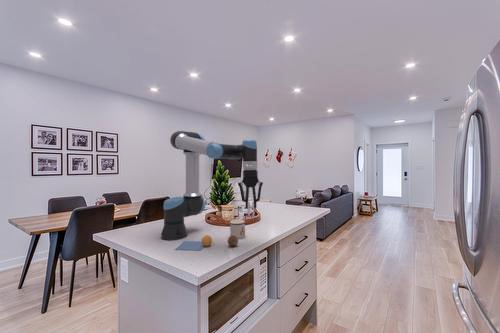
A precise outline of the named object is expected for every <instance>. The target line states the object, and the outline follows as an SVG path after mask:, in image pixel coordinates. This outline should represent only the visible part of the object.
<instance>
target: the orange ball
mask: <svg viewBox="0 0 500 333" xmlns="http://www.w3.org/2000/svg"><path fill="white" fill-rule="evenodd" d="M201 241H202V244H203V245H204V246H205V247H209V246H210V245H211V244H212V243H213V238H212V236H211V235H207V234H206V235H204V236H203V237H202V238H201Z"/></svg>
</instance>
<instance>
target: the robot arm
mask: <svg viewBox="0 0 500 333" xmlns="http://www.w3.org/2000/svg"><path fill="white" fill-rule="evenodd" d="M169 140H170V141H169V142H170V144H171V145H170V146H172V148H174V149H176V150H180V151H181V150H182V151H183V154H184V156H185V192H184V194H183V196H176V197H170V198H167V199H166V200H164V202H163V206H162V207H163V227H162V230H161V233H160V234H161V235H160V236H161V237H160V238H161V239H162V240H164V241H176V240H180V239H185V238H186V237H187V236H188V230H187V228H186V224H185V218H188V217H191V216H193V217H194V216H197V215H200V214H202V213H203V212H204V211H205V208H206V201H205V198H204V197H202V193H201V192H200V156H201V155H205V156H207V157H208V158H210V159H213V160H217V159H218V160H219V159H220V160H221V159H226V160H238V159H242V169H243V170H242V175H243V178H242V180H241V181H240V182H237V185H238V187H239V191H240V199H241V201H242V202H244V203H245V209H247V216H250V215H251V207H252V216H255V210H256V209H257V202H260V200H261V192H262V187H263V184H264V182H263V181H260V180H259V178H258V177H259V175H258V174H259V172H258V146H257V145H258V144H257V140H256V139H244V140H242V143H241V144H225V143H218V142H214V141H207V140H205V136H203V135H202V134H201V133H199V132H193V131H184V130H177V131H175V132H174V133H172V134H171V136H170V138H169ZM257 185H258V190H257V191H258V192H257V194H256V186H257ZM243 186H245V189H246V190H245V193H244V187H243ZM250 188H251V190H252V198H253V202H252V204H251V205H252V206H251V207H250V203H251V202H250V201H249V197H250V196H249V195H250Z"/></svg>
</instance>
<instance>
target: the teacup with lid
mask: <svg viewBox="0 0 500 333" xmlns="http://www.w3.org/2000/svg"><path fill="white" fill-rule="evenodd" d="M245 223H246V221H245V220H244V219H240V217H239V216H236V217H235V218H234V219H232V220H231V221H230V222H229V225H230V226H229V227H230V228H229V232H230V234H229V235H230V236H236V237H237V238H238V240H240V239H244V238H245V236H246V227H245V226H246V224H245ZM230 236H229V237H230Z"/></svg>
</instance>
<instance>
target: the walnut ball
mask: <svg viewBox="0 0 500 333" xmlns="http://www.w3.org/2000/svg"><path fill="white" fill-rule="evenodd" d="M238 243H239V239H238V238H237V237H236V236H229V237H228V238H227V244H228V245H229V246H230V247H235V246H238Z"/></svg>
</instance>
